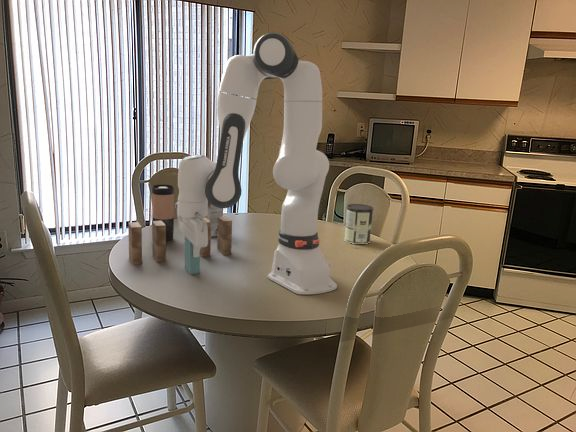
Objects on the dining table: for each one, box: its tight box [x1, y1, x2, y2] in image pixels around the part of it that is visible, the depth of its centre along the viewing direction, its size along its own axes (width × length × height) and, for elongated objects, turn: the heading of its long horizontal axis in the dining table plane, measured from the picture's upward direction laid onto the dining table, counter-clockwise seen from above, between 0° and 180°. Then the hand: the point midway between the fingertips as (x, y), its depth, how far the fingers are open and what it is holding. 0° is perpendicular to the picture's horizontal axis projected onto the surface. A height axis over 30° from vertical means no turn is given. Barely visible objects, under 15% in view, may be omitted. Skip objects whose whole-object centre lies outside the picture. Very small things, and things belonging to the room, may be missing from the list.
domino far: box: [127, 221, 143, 265], centre depth 152 cm, size 3×6×12 cm, turn 27°
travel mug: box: [151, 184, 175, 243], centre depth 174 cm, size 8×8×20 cm
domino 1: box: [151, 220, 167, 262], centre depth 155 cm, size 3×6×12 cm, turn 27°
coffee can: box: [343, 203, 374, 245], centre depth 187 cm, size 10×10×14 cm
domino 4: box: [216, 215, 233, 256], centre depth 165 cm, size 3×6×12 cm, turn 27°
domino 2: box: [184, 237, 201, 275], centre depth 146 cm, size 3×6×12 cm, turn 27°
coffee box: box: [203, 201, 224, 238], centre depth 186 cm, size 9×6×16 cm
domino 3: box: [200, 218, 212, 258], centre depth 162 cm, size 3×6×12 cm, turn 27°
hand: (192, 252), depth 146 cm, fingers closed on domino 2, 6 cm apart
